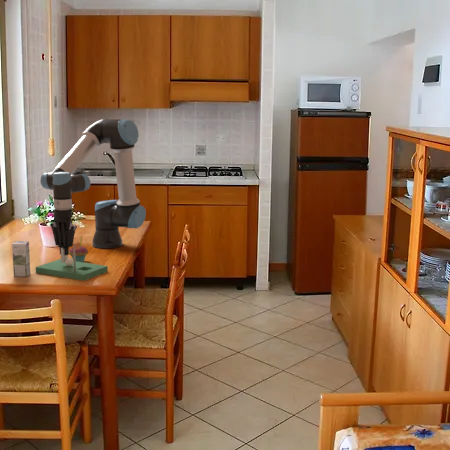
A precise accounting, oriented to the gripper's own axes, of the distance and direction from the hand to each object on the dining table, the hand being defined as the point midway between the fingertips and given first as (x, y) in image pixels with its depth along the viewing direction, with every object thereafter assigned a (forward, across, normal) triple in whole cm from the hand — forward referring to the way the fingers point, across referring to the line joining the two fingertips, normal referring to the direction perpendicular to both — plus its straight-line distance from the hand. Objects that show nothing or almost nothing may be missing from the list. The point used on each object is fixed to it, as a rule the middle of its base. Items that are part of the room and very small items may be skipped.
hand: (64, 262), depth 274 cm
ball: (0, +2, 0) cm, 3 cm away
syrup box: (+4, -11, -14) cm, 18 cm away
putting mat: (+4, +4, 0) cm, 6 cm away
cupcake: (+4, -6, +16) cm, 18 cm away
